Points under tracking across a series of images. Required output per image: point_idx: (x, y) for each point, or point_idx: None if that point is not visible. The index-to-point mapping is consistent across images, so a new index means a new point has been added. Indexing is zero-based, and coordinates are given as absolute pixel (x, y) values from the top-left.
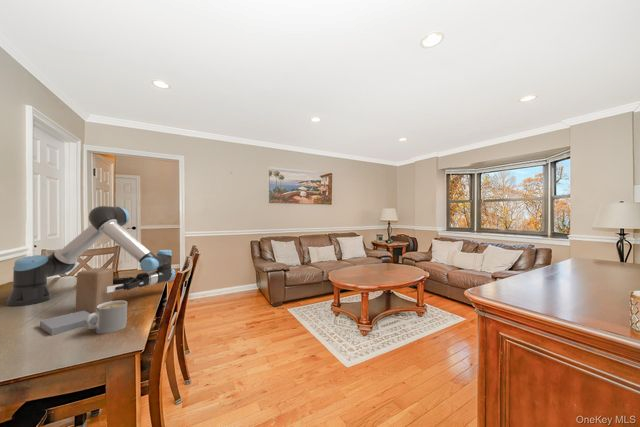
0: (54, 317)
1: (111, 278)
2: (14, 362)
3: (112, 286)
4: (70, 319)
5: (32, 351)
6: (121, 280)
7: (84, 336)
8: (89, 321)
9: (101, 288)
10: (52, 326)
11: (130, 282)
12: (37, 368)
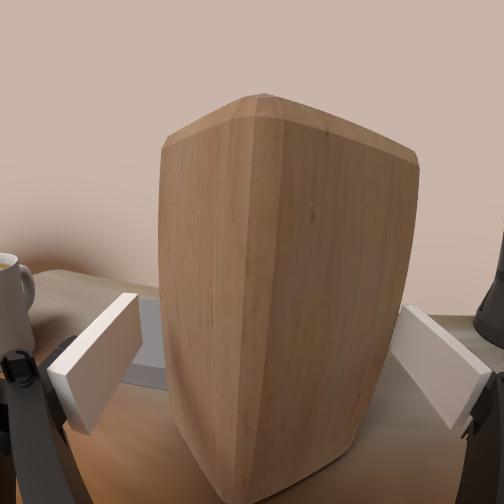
0: None
1: (212, 255)
2: (81, 277)
3: (104, 312)
4: (144, 325)
5: (88, 288)
6: (488, 497)
7: (39, 319)
8: (22, 281)
9: (165, 292)
10: (138, 301)
11: (21, 495)
12: (37, 276)
